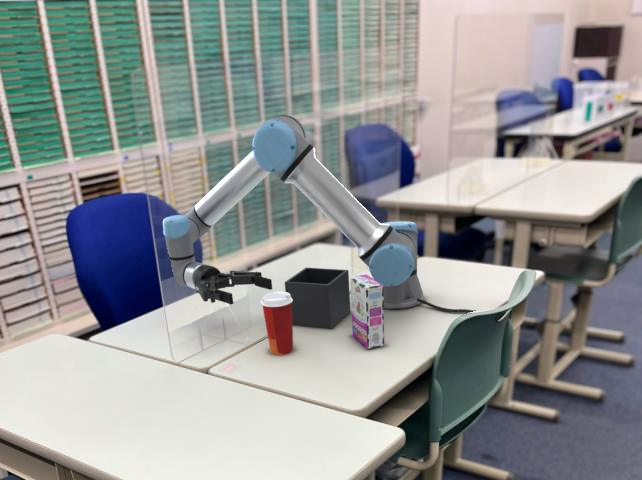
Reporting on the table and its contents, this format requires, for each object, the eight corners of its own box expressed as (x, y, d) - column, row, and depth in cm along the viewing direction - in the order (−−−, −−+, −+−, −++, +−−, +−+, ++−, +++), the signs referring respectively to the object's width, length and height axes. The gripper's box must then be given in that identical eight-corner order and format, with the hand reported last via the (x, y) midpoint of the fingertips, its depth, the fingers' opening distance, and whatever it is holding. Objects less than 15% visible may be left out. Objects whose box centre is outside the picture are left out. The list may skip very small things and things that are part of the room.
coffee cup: (301, 345, 187) (296, 291, 179) (291, 357, 181) (285, 302, 173) (272, 343, 190) (266, 290, 182) (261, 355, 183) (254, 301, 176)
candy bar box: (385, 346, 182) (384, 284, 173) (368, 350, 181) (365, 288, 172) (368, 332, 191) (366, 273, 182) (351, 335, 190) (349, 276, 181)
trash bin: (350, 312, 205) (348, 270, 198) (331, 329, 195) (328, 285, 188) (309, 308, 211) (305, 267, 204) (288, 324, 201) (284, 282, 194)
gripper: (239, 279, 207) (287, 292, 193) (169, 303, 193) (216, 319, 179) (236, 253, 203) (284, 265, 189) (165, 276, 189) (212, 291, 175)
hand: (251, 291), depth 184 cm, fingers open, 13 cm apart
